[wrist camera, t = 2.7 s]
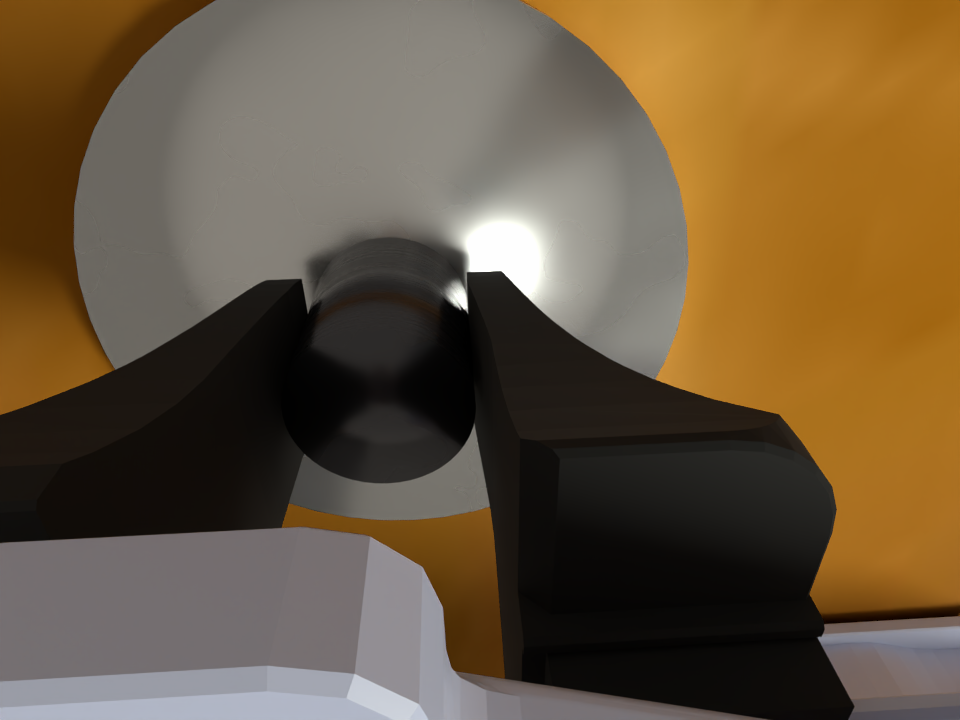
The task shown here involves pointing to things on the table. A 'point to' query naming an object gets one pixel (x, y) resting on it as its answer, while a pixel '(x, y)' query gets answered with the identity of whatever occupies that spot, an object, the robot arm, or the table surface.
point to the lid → (379, 216)
